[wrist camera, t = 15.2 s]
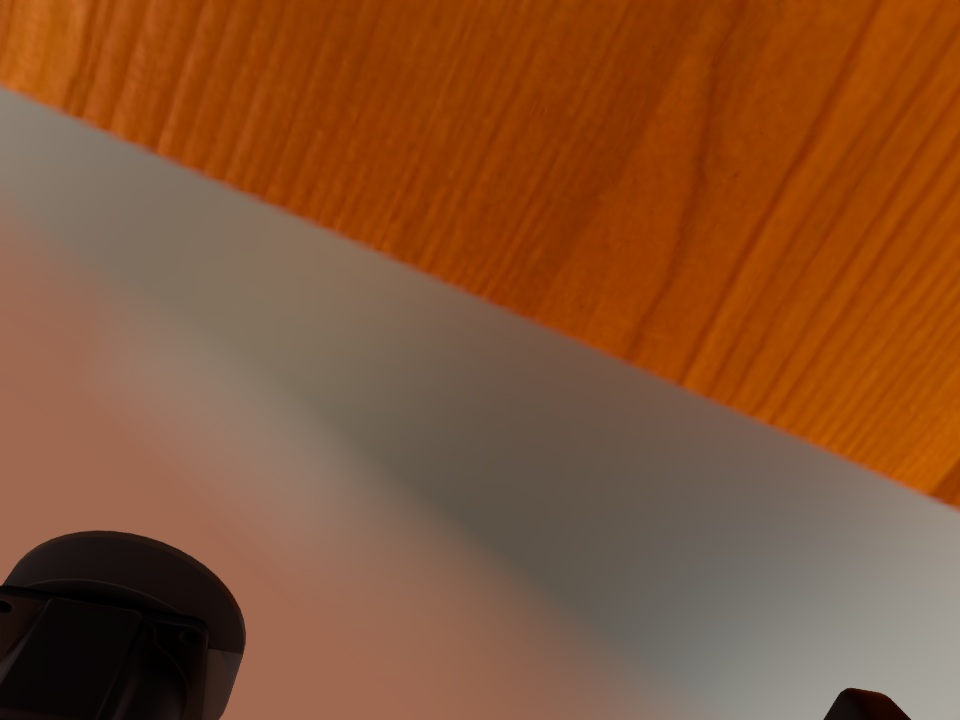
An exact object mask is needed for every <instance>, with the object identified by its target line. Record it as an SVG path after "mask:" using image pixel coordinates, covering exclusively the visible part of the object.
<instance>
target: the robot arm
mask: <svg viewBox="0 0 960 720" xmlns="http://www.w3.org/2000/svg"><path fill="white" fill-rule="evenodd" d="M189 632H191V633H194V634H191V633H189ZM209 635H210V629H209V626H208V624H207V623H206V622H205V621H204V620H202V619H200V618H197V617H194V616H188V615H182V614H176V613H170V612H164V611H158V610H152V609H147V608H141V607H135V606H129V605H123V604H117V603H111V602H105V601H100V600H94V599H88V598H82V597H76V596H70V595H64V594H58V593H53V592H47V591H41V590H35V589H29V588H23V587H17V586H11V585H1V586H0V720H202V710H203V699H204V689H205V678H206V667H207V657H208V646H209ZM824 720H911V719H910V718H909V717H908V716H907V715H906V714H905V713H904V712H903V711H902V710H901V709H900V708H899V707H898V706H897V705H896V704H895V703H894V702H893V701H892V700H891V699H890V698H889V697H888V696H886V695H884V694H882V693H878V692H873V691H867V690H861V689H855V688H847V689H845V690H844V691H842V692H841V693H840V694H839V695H838V697H837V699H836V700H835V702H834V703H833V705H832V707H831V708H830V710H829V712H828V713H827V715H826V716H825V718H824Z"/></svg>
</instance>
